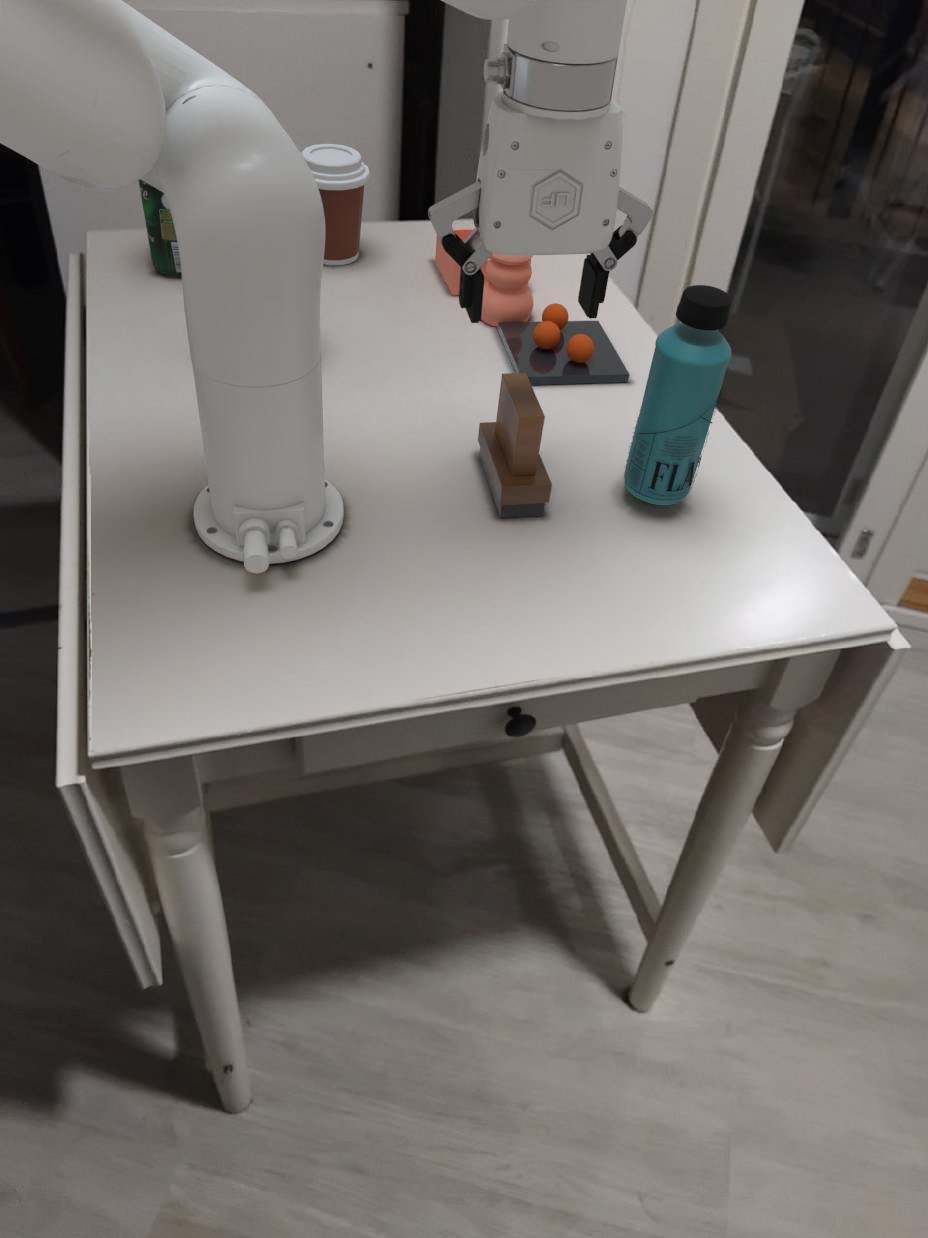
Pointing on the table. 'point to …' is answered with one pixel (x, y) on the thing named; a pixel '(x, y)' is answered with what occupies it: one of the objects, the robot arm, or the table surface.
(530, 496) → the brush
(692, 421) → the beverage bottle
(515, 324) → the slate tile
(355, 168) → the coffee cup
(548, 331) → the felt ball
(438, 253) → the pottery
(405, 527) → the table surface
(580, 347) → the felt ball
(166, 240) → the coffee jar
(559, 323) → the felt ball
